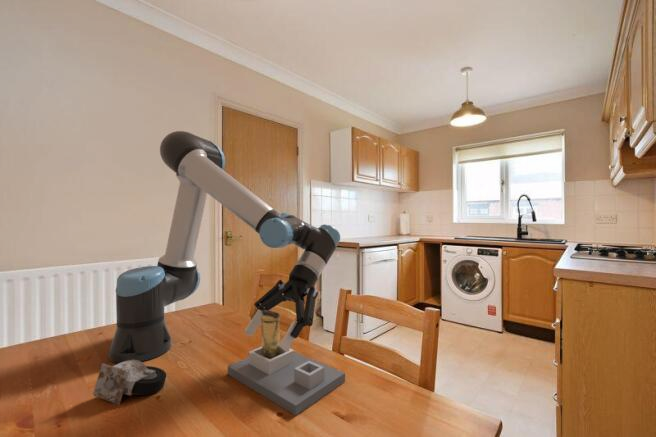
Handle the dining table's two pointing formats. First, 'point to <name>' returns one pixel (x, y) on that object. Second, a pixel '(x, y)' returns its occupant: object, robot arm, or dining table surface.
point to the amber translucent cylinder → (270, 334)
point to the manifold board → (287, 378)
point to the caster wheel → (128, 380)
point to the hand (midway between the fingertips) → (264, 341)
